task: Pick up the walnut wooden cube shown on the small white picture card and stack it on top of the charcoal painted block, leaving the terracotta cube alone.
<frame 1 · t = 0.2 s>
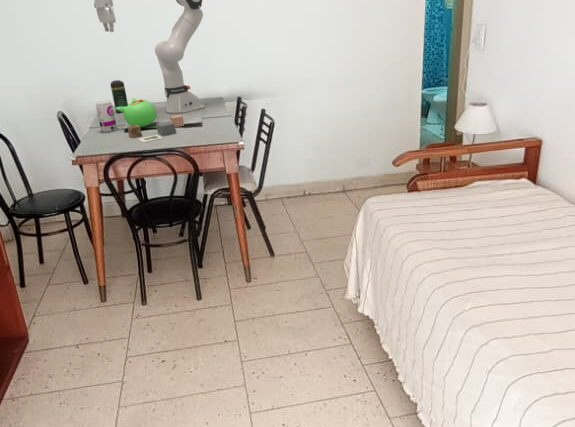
hand: (109, 31, 276), 48 cm above the table, tool pointing down, fingers open, 8 cm apart
walnut cube: (135, 136, 261), on the table
terracotta cube: (178, 125, 275), on the table
supplement can: (109, 130, 277), on the table
charcoal base block: (167, 133, 262), on the table
toy bird: (142, 126, 279), on the table
coffee jar: (122, 111, 320), on the table
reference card: (150, 138, 254), on the table
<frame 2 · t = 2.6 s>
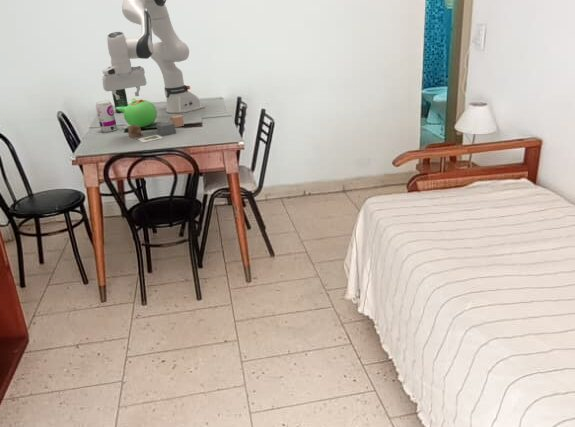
hand: (127, 97, 253), 19 cm above the table, tool pointing down, fingers open, 8 cm apart
nothing on the table moved.
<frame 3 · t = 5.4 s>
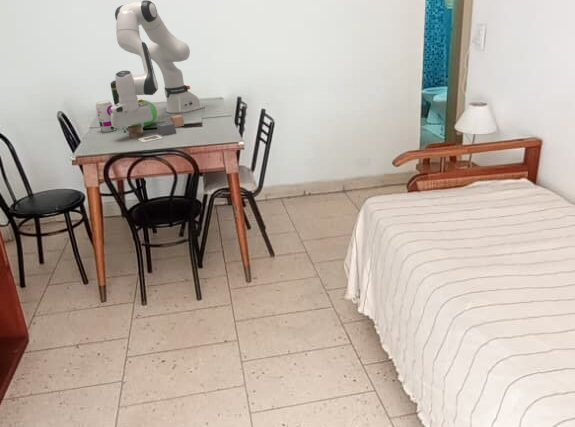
hand: (135, 133, 260), 2 cm above the table, tool pointing down, fingers closed on walnut cube, 5 cm apart
walnut cube: (135, 136, 261), on the table, touching gripper
everything else where it was.
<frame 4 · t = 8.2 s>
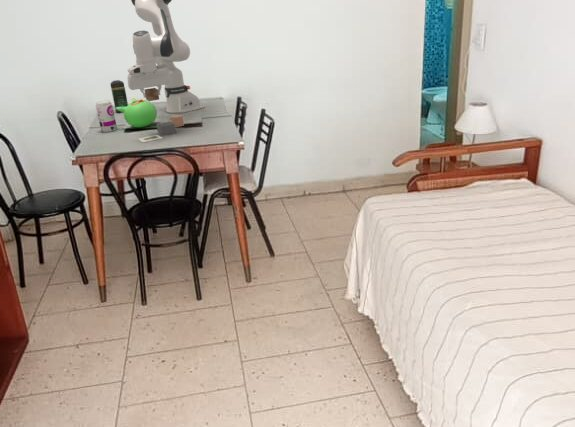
hand: (152, 96, 254), 19 cm above the table, tool pointing down, fingers closed on walnut cube, 5 cm apart
walnut cube: (152, 99, 255), point 17 cm above the table, touching gripper
everything else where it was.
when the fingers open (8 cm above the table, at t = 11.4 s): walnut cube drops 2 cm, resting on charcoal base block.
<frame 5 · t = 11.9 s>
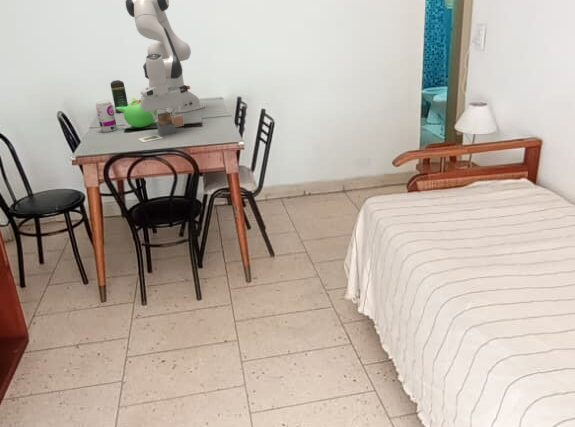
hand: (164, 117, 258), 8 cm above the table, tool pointing down, fingers open, 8 cm apart
walnut cube: (165, 123, 260), point 5 cm above the table, touching charcoal base block
charcoal base block: (167, 133, 262), on the table, touching walnut cube
everything else where it was.
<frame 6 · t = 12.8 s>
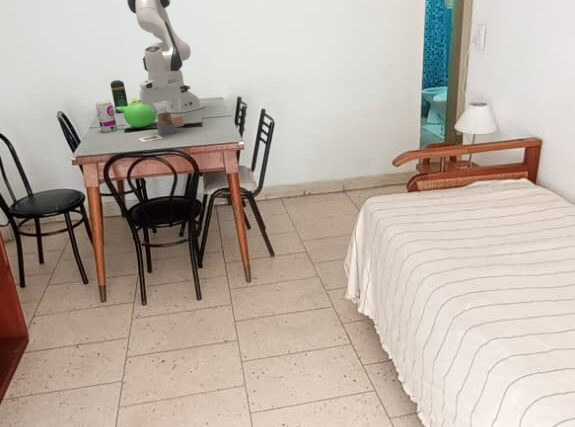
hand: (163, 110, 257), 12 cm above the table, tool pointing down, fingers open, 8 cm apart
nothing on the table moved.
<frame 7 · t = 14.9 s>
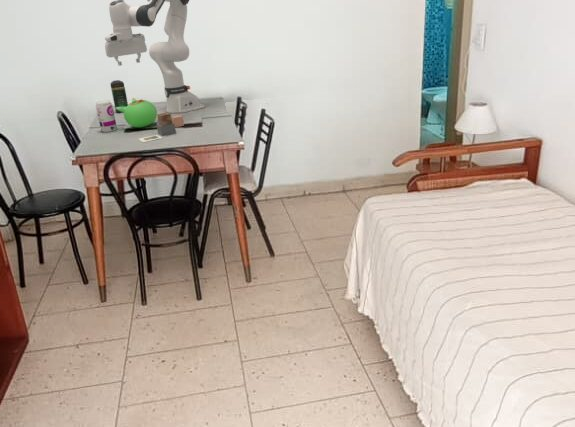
hand: (129, 63, 266), 33 cm above the table, tool pointing down, fingers open, 8 cm apart
nothing on the table moved.
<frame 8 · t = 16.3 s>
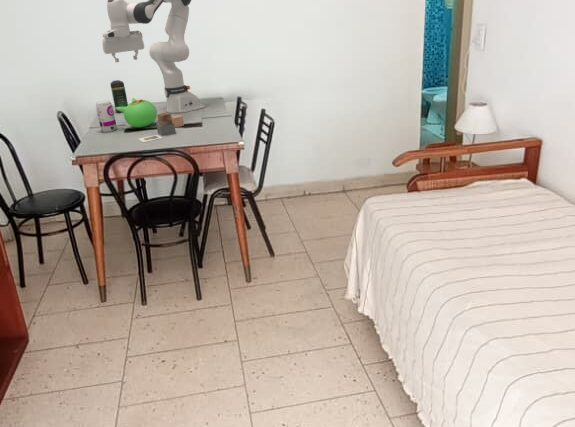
hand: (126, 60, 267), 34 cm above the table, tool pointing down, fingers open, 8 cm apart
nothing on the table moved.
at the end: walnut cube 0.5 cm off-centre on the charcoal base block, point 5.0 cm above the charcoal base block's base; walnut cube tilted 0°; charcoal base block moved 0.3 cm from its start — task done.
